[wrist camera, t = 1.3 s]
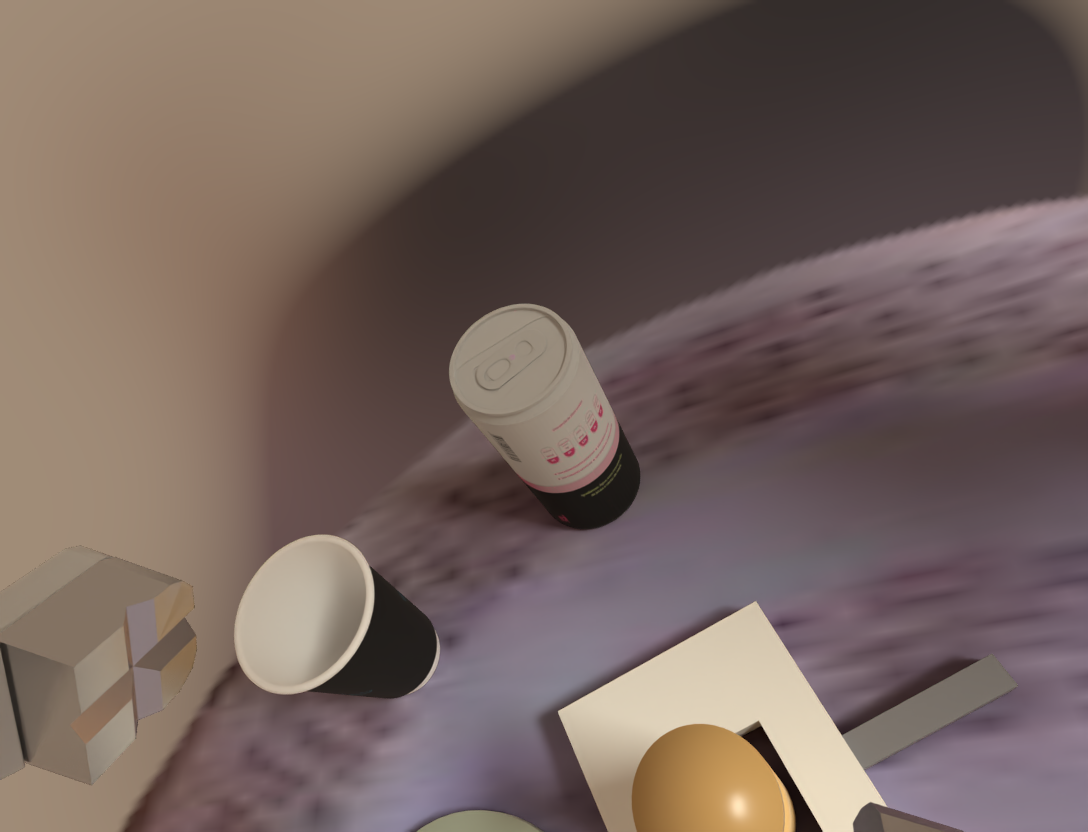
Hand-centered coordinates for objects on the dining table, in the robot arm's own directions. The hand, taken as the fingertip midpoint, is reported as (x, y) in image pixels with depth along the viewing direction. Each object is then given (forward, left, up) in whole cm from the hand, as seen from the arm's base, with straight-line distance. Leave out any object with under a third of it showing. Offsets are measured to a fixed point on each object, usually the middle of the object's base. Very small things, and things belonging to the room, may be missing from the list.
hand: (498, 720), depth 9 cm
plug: (0, 0, -33) cm, 33 cm away
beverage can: (+16, -12, -33) cm, 39 cm away
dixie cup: (+21, +3, -33) cm, 39 cm away
